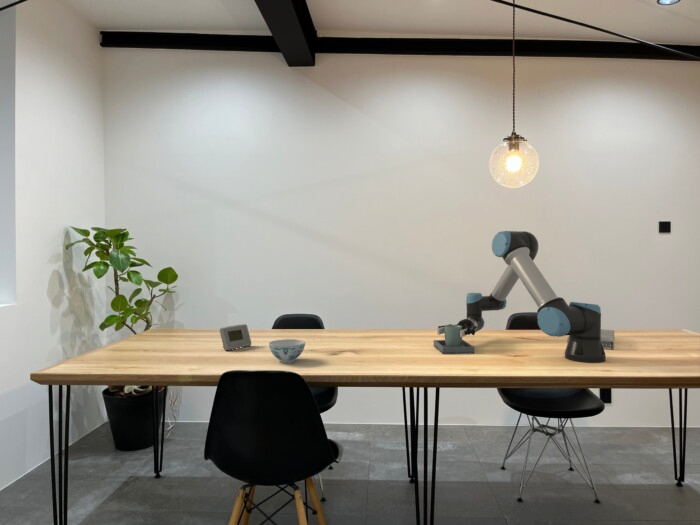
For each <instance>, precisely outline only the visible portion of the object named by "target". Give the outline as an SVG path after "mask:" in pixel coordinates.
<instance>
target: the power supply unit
mask: <svg viewBox="0 0 700 525" xmlns="http://www.w3.org/2000/svg"><path fill="white" fill-rule="evenodd" d="M568 342H569V335H567V343H568ZM601 343H602V346H603V349H604V351H605V350H606V351H608V350H609V351H614V350H615V330H614V329H602V328H601Z"/></svg>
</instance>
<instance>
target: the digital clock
mask: <svg viewBox="0 0 700 525" xmlns="http://www.w3.org/2000/svg"><path fill="white" fill-rule="evenodd" d="M219 333H220V338H221V342H222V349H223V348H224V349H223V350H224V351H225V350H228V351H232V350H231V349H235V350H237V349H236V348H240V347H244V348H246V347H245V346H247V347H251V346H250V345H252V341H251V340H252V338H251V335H250V332H249V328H248V326H247V324H245V323H243V324H235V325H228V326H224V327H220V328H219ZM240 349H241V348H240Z"/></svg>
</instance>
